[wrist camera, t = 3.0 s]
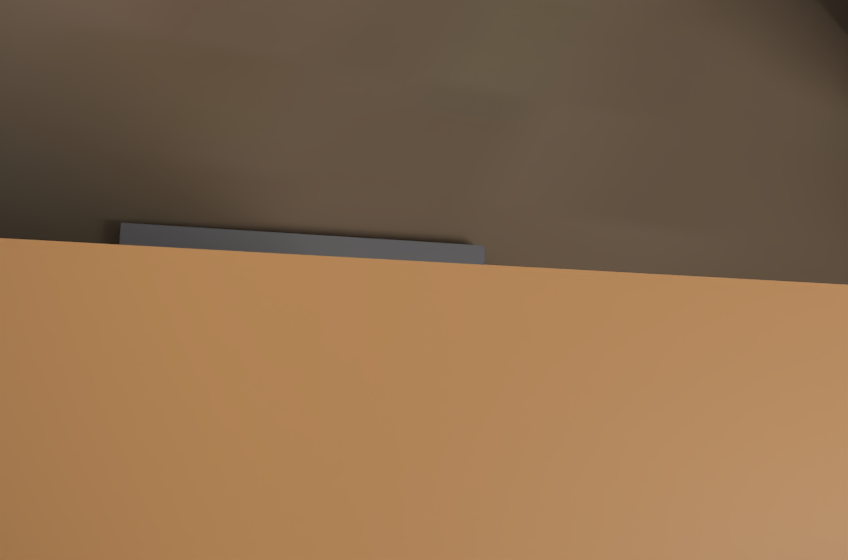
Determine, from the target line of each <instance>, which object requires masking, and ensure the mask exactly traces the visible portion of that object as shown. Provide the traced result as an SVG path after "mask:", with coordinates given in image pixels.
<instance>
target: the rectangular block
mask: <svg viewBox="0 0 848 560" xmlns="http://www.w3.org/2000/svg"><path fill="white" fill-rule="evenodd" d="M0 560H848V285H843V284H825V283H807V282H788V281H770V280H752V279H734V278H716V277H698V276H680V275H661V274H643V273H625V272H607V271H589V270H571V269H553V268H534V267H516V266H498V265H480V264H462V263H444V262H426V261H407V260H389V259H371V258H353V257H335V256H317V255H299V254H280V253H262V252H244V251H226V250H208V249H190V248H172V247H153V246H135V245H117V244H99V243H81V242H63V241H45V240H26V239H8V238H0Z"/></svg>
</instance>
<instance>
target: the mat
mask: <svg viewBox="0 0 848 560" xmlns="http://www.w3.org/2000/svg"><path fill="white" fill-rule="evenodd" d="M119 245H135V246H153V247H172V248H190V249H208V250H226V251H244V252H262V253H280V254H299V255H317V256H335V257H353V258H371V259H389V260H407V261H426V262H444V263H462V264H480V265H485V250H484V246H483V245H468V244H452V243H436V242H420V241H404V240H388V239H372V238H357V237H341V236H325V235H309V234H293V233H277V232H262V231H246V230H230V229H214V228H198V227H182V226H166V225H151V224H135V223H121V229H120V240H119Z"/></svg>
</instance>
